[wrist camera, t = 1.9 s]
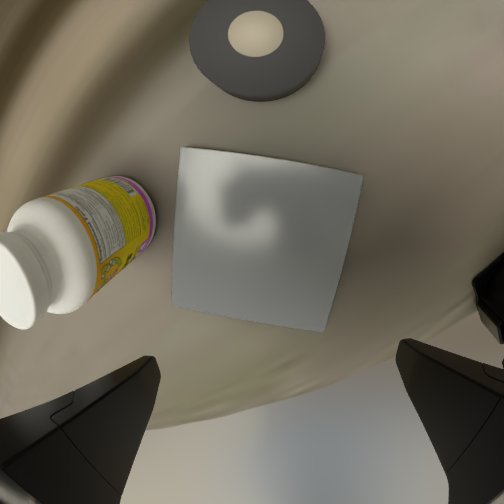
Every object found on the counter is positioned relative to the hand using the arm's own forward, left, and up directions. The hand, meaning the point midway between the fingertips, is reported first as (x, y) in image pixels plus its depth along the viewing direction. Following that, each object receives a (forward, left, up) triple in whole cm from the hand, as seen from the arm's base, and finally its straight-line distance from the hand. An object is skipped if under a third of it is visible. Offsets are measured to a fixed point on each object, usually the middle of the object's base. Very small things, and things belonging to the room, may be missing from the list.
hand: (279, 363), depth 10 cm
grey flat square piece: (+1, -1, -12) cm, 13 cm away
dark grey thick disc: (-8, -12, -12) cm, 19 cm away
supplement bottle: (+9, -9, -13) cm, 18 cm away
